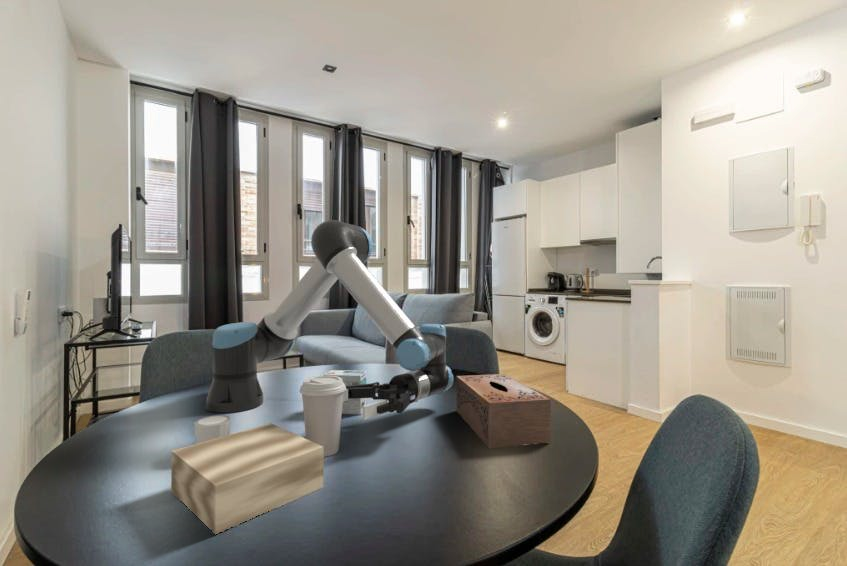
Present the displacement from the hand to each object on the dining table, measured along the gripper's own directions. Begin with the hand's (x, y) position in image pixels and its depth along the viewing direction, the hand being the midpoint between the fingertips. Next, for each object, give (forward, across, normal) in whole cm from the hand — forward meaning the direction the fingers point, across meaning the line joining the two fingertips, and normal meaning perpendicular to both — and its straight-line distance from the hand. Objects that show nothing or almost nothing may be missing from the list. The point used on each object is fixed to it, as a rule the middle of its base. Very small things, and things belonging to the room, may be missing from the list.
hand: (343, 406), depth 89 cm
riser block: (+23, -3, -8) cm, 25 cm away
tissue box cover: (-33, -20, -9) cm, 39 cm away
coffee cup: (+5, +1, -9) cm, 10 cm away
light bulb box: (-15, +18, -9) cm, 26 cm away
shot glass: (+21, +17, -9) cm, 28 cm away
